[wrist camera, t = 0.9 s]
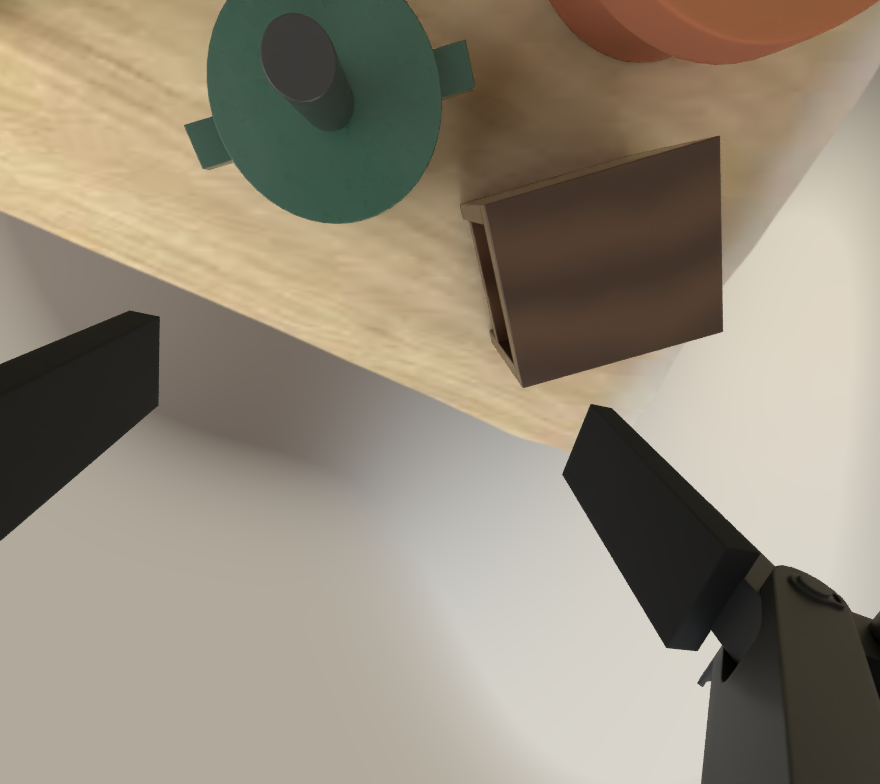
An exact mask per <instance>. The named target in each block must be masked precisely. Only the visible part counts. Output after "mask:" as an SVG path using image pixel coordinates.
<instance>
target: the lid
mask: <svg viewBox="0 0 880 784" xmlns="http://www.w3.org/2000/svg"><path fill="white" fill-rule="evenodd" d="M207 87H208V96H209V102H210V107H211V111H212V115H213V119H214V122H215V125H216V128H217V130H218V133H219V136H220V138H221V140H222V142H223V144H224V146H225V148H226V150H227V152H228V154H229V155H230V157H231V159H232V160H233V162H234V164H235V165H236V166H237V168H238V169H239V170H240V172H241V173H242V174H243V175H244V177H245V178H246V179H247V180H248V181H249V182H250V183H251V184H252V185H253V186H254V187H255V188H256V190H257V191H259V192H260V193H261V194H262V195H264V196H265V197H266V198H267V199H268V200H270V201H271V202H273V203H274V204H276V205H277V206H279V207H281V208H282V209H284V210H286V211H288V212H290V213H292V214H294V215H296V216H299V217H302V218H305V219H308V220H312V221H317V222H322V223H333V224H342V223H353V222H357V221H362V220H366V219H369V218H371V217H374V216H377V215H379V214H381V213H383V212H384V211H386V210H388V209H390V208H391V207H393V206H394V205H395V204H397V203H398V202H399V201H401V200H402V199H403V198H404V197H405V196H406V195H407V194H408V193H409V192H410V191H411V190H412V188H413V187H414V186H415V185H416V183H417V182H418V181H419V179H420V178H421V176H422V175H423V173H424V171H425V169H426V168H427V166H428V164H429V161H430V159H431V157H432V154H433V152H434V149H435V145H436V142H437V139H438V134H439V129H440V123H441V110H442V96H441V83H440V77H439V71H438V67H437V63H436V60H435V56H434V52H433V49H432V47H431V45H430V42H429V40H428V37H427V35H426V33H425V31H424V29H423V27H422V25H421V23H420V22H419V20H418V18H417V16H416V15H415V14H414V12H413V11H412V9H411V8H410V7H409V5H408V4H407V2H406V1H405V0H227V1H226V3H225V4H224V6H223V8H222V10H221V11H220V14H219V16H218V19H217V21H216V23H215V26H214V29H213V33H212V36H211V40H210V44H209V51H208V59H207Z"/></svg>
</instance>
